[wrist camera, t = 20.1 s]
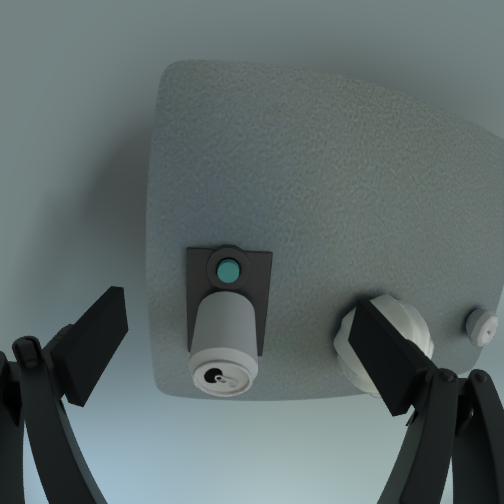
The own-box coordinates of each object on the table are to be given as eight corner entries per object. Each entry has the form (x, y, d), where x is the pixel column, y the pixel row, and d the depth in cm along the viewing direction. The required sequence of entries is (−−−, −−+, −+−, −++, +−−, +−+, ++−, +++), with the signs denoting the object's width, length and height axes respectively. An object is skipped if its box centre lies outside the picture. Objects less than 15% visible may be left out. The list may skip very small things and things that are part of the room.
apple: (480, 327, 44) (498, 341, 37) (456, 342, 44) (474, 358, 37) (485, 296, 41) (505, 308, 35) (460, 309, 42) (481, 324, 35)
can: (207, 279, 35) (195, 352, 24) (263, 297, 36) (271, 370, 26) (192, 321, 38) (179, 391, 27) (242, 335, 39) (243, 406, 29)
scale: (187, 241, 36) (184, 245, 34) (272, 246, 37) (274, 250, 34) (189, 350, 40) (187, 358, 38) (261, 354, 41) (262, 362, 39)
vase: (390, 358, 43) (426, 405, 30) (319, 363, 42) (343, 422, 29) (413, 286, 39) (464, 323, 26) (337, 284, 38) (377, 331, 26)
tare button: (218, 258, 35) (217, 261, 33) (239, 259, 35) (239, 263, 33) (217, 278, 35) (216, 282, 34) (238, 279, 36) (238, 283, 34)
